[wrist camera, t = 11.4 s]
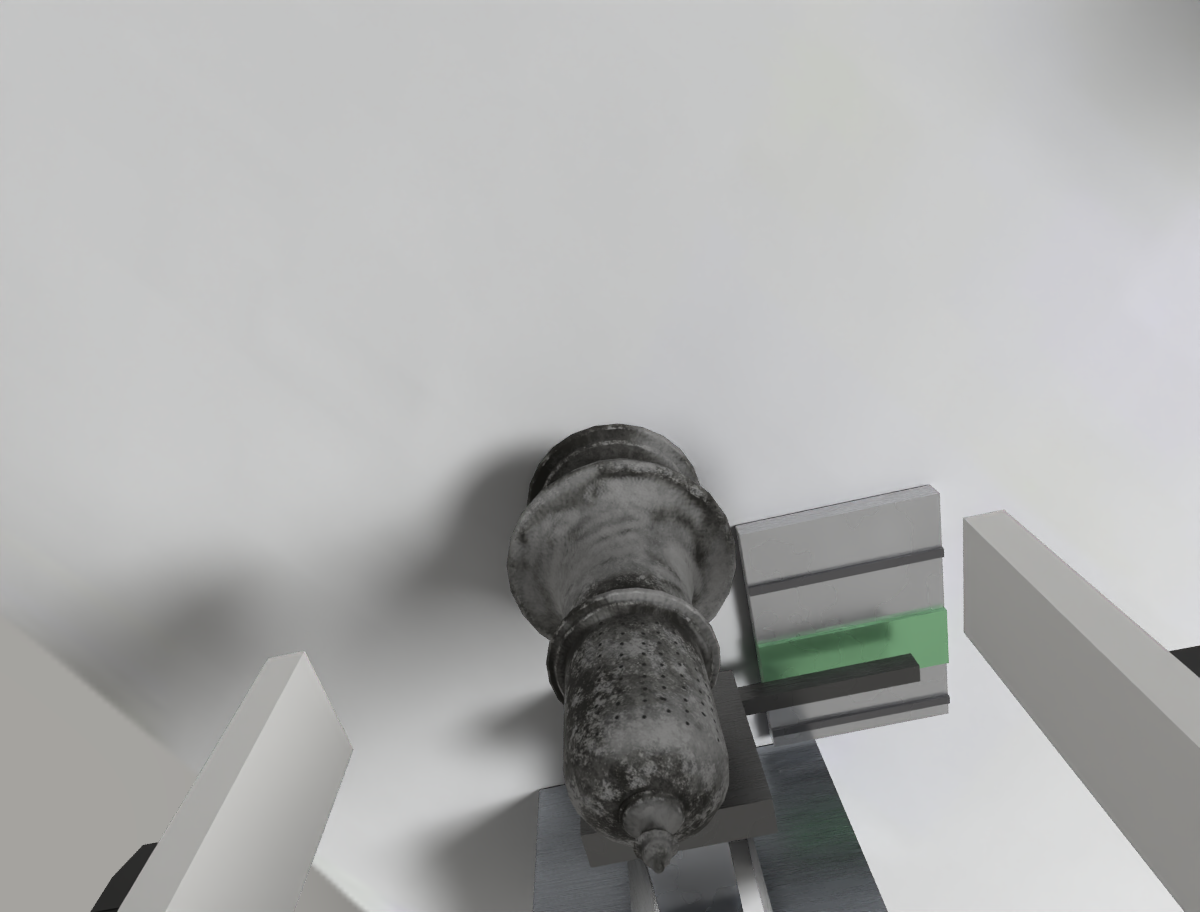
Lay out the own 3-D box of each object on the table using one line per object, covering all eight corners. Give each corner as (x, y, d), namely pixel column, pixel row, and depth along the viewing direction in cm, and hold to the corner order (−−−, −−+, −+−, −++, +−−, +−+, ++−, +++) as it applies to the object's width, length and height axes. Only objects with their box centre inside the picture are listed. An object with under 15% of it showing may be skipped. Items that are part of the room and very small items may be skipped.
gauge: (468, 582, 22) (420, 770, 15) (930, 484, 21) (1101, 636, 14) (577, 900, 28) (578, 1144, 21) (945, 831, 27) (1075, 1061, 20)
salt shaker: (620, 372, 20) (680, 632, 9) (750, 508, 21) (939, 869, 10) (476, 503, 21) (367, 873, 10) (609, 621, 23) (643, 1047, 12)
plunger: (579, 700, 23) (580, 835, 18) (903, 635, 22) (990, 757, 18) (635, 891, 26) (648, 1046, 22) (916, 839, 26) (992, 986, 21)
